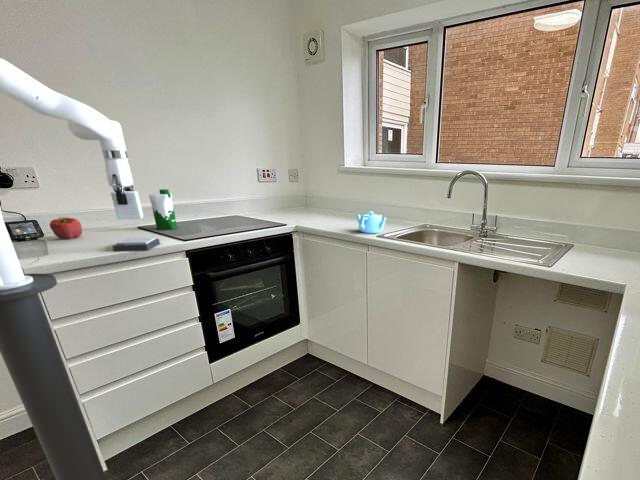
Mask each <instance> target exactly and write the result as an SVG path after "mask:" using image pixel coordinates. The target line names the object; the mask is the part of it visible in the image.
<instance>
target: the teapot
mask: <svg viewBox="0 0 640 480" xmlns="http://www.w3.org/2000/svg"><path fill="white" fill-rule="evenodd" d="M355 216H356V219H357V222H358V223H357V224H358V229H359V231H360V232H361V233H364V234H379V233H381V232H382V231H384V227H385V224H386V221H387V217H382V216H383V215H382V214H374V211H368V213H367V214H364V215H363V216H361V215H360V214H355Z"/></svg>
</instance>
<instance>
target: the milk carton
mask: <svg viewBox="0 0 640 480" xmlns="http://www.w3.org/2000/svg"><path fill="white" fill-rule="evenodd" d="M172 195H173V194H172V193H171V192H170V190H169V189H167V188H165V189H164V188H163V189H159V192H154V193H150V194H149V193H148V197H149V200H150V205H151V209H152V213H153V217H154V222H155V226H156V230H157V231H173V230H175V229H177V228H178V225H177V218H176V213H175V209H174V204H173V197H172Z"/></svg>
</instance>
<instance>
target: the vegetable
mask: <svg viewBox="0 0 640 480" xmlns="http://www.w3.org/2000/svg"><path fill="white" fill-rule="evenodd" d="M82 226H83V225H82V224H81V222H80V221H79V220H78V219H76V218H74V217H62V216H59V217H58V218H54V219H52V220H51V221H50V222H49V228H50V230H51V231H52V232H53V234H54V235H55V236H56V237H57V238H59V239H66V240H70V239H73V238H77V239H78V238H80V237H81V236H82V234H83V227H82Z"/></svg>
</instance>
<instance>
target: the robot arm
mask: <svg viewBox="0 0 640 480" xmlns="http://www.w3.org/2000/svg"><path fill="white" fill-rule="evenodd" d="M0 93H2V94H4V95H6V96H8V97H9V98H10V99H13V100H15V101H16V102H18V103H19V104H22V105H23V106H25V107H27V108H28V109H30V110H32V111H34V112H35V113H38V114H40V115H43V116H46V117H50V118H54V119H58V120H63V121H67V122H68V123H67V128H68V131H69V132H70V133H71V134H72V135H73V136H74V137H76V138H78V139H80V140H83V141H99V145H100V147H101V152H102V156H103V159H104V165H105V172H106V178H107V182H108V185H109V186H110V187H112V190H113V192H114V191H115V194H116V198H117V202H118V204H119V205H127V204H128V202H127V198H126V194H124V191H135V190H134V179H133V174H132V171H131V167H130V164H129V162H128V161H129V160H130V159H129V156H128V152H127V147H126V143H125V138H124V134H123V129H122V125H121V124H120V122H118V121H116V120H113V119H109V118H108V117H107V116H105V115H104V114H102V113H101V112H99V111H97V110H96V109H95V108H93V107H91V106H90V105H88V104H85V103H84V102H81V101H78V100H76V99H74V98H71V97H70V96H67V95H65V94H62V93H60V92H57V91H55V90H54V89H51V88H49V87H48V86H47V85H46V84H43V83H42V82H40V81H38V80H37V79H35V78H33V77H32V76H31V75H29V74H28V73H26V72H25V71H23V70H21V69H20V68H18V67H17V66H15V65H13V64H12V63H10V62H9V61H7V60H6V59H3V58H2V57H0ZM24 274H25V273H24V271H23V267H22V266H21V263H20V260H19V258H18V255H17V252H16V249H15V247H14V244H13V242H12V239H11V236H10V234H9V231H8V229H7V226H6V223H5V220H4V216H3V214H2V208H1V206H0V290H7V289H12V288H17V287H21V286H24V285H27V284H30V283H31V282H33V278H32V277H31V276H26V275H24Z"/></svg>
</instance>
